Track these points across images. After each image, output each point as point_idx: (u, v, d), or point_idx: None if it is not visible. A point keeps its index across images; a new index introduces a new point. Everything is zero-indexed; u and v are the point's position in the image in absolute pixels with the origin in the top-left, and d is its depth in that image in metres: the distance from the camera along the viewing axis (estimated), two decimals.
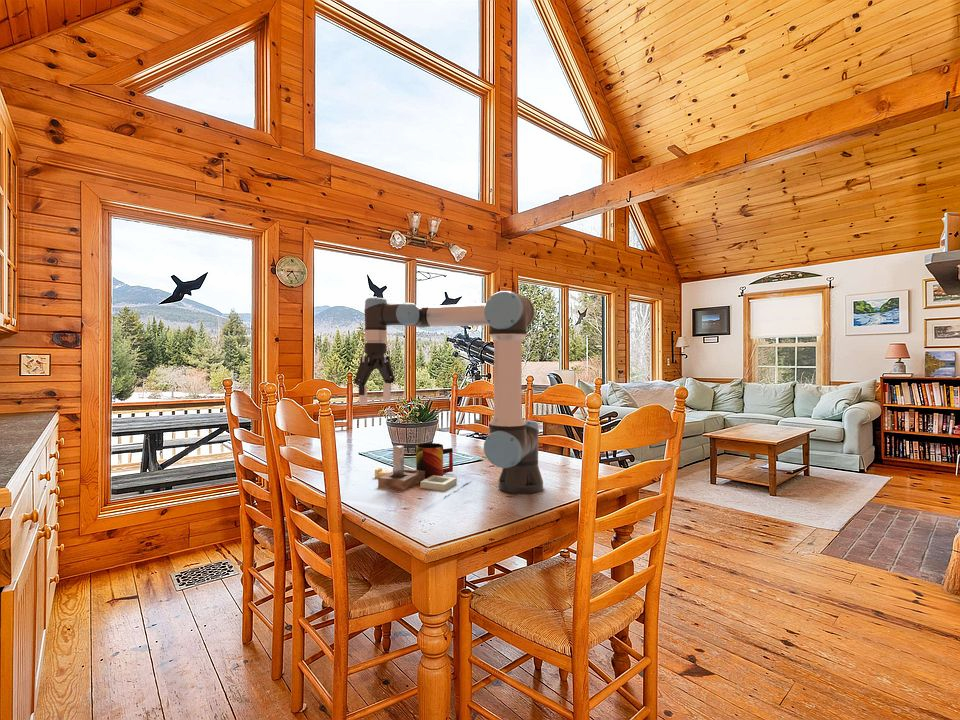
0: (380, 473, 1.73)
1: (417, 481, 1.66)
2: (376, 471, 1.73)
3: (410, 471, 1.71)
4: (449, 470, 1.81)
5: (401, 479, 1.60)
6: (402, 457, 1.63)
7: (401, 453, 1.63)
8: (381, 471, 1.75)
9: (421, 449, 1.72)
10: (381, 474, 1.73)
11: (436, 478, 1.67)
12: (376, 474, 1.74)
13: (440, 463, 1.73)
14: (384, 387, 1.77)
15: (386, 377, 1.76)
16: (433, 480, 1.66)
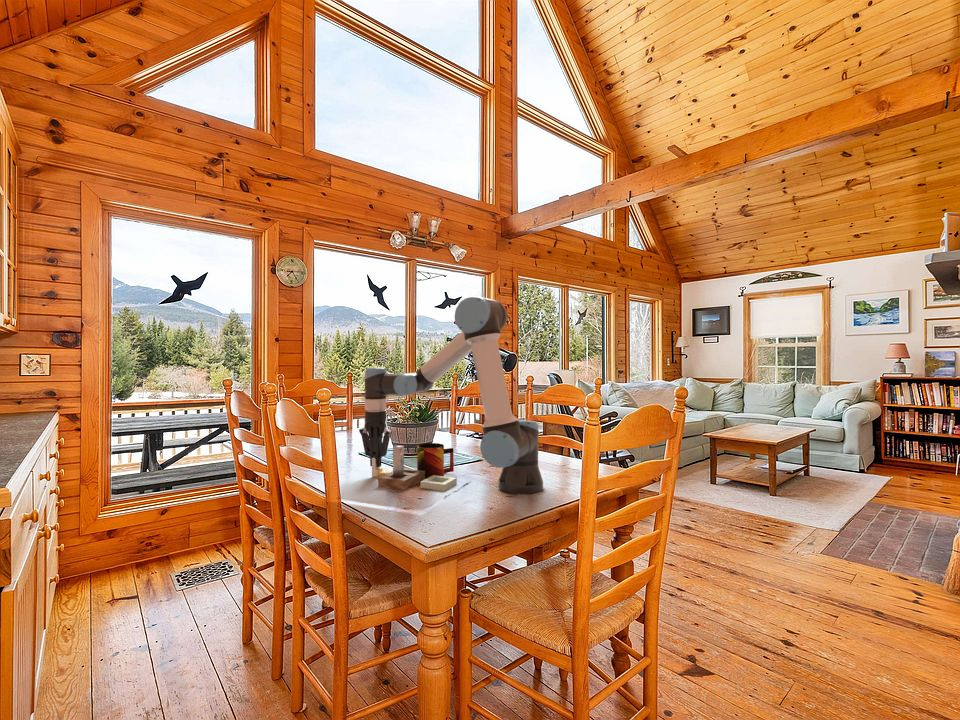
0: (380, 473, 1.73)
1: (417, 481, 1.66)
2: (376, 471, 1.73)
3: (410, 471, 1.71)
4: (450, 470, 1.81)
5: (401, 479, 1.60)
6: (402, 457, 1.63)
7: (401, 453, 1.63)
8: (381, 471, 1.74)
9: (422, 449, 1.72)
10: (381, 474, 1.73)
11: (436, 478, 1.67)
12: (376, 474, 1.73)
13: (441, 463, 1.74)
14: None
15: None
16: (433, 480, 1.66)
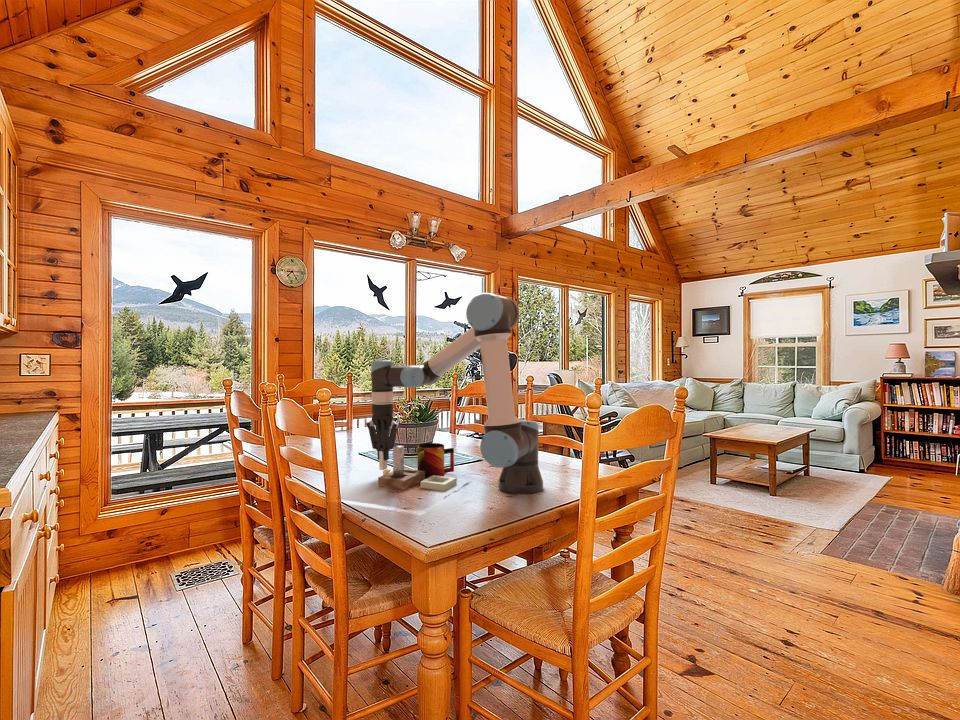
0: None
1: (417, 481, 1.66)
2: (384, 472, 1.72)
3: (410, 471, 1.71)
4: (450, 470, 1.81)
5: (401, 479, 1.60)
6: (402, 457, 1.63)
7: (401, 453, 1.63)
8: (389, 472, 1.73)
9: (422, 449, 1.72)
10: None
11: (436, 478, 1.67)
12: None
13: (441, 463, 1.74)
14: None
15: None
16: (433, 480, 1.66)
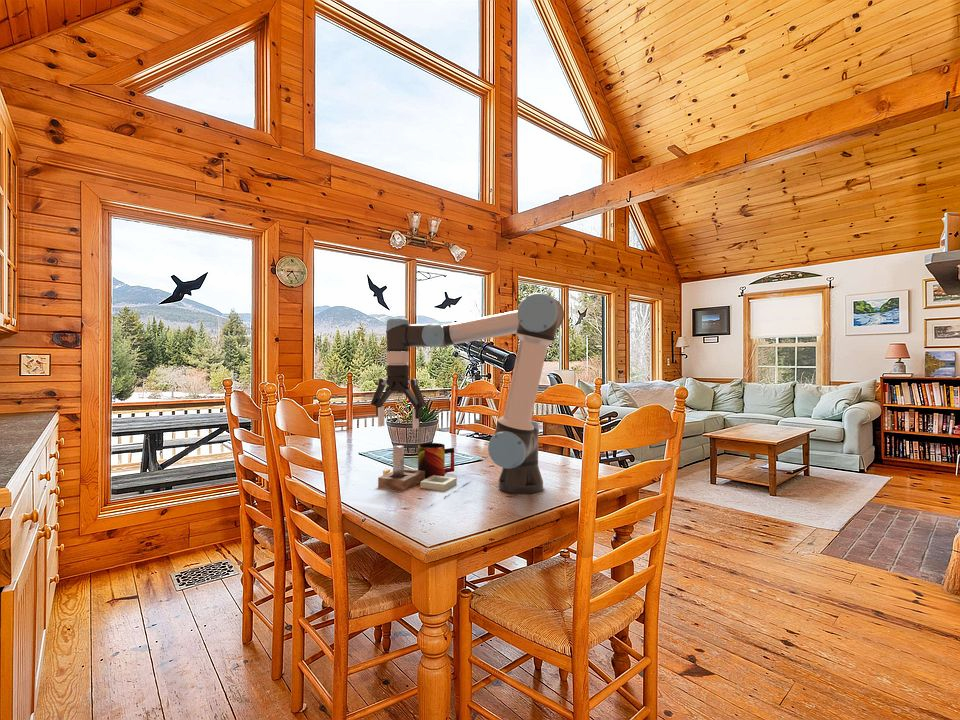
0: None
1: (417, 481, 1.66)
2: (384, 472, 1.72)
3: (410, 471, 1.71)
4: (450, 470, 1.81)
5: (401, 479, 1.60)
6: (402, 457, 1.63)
7: (401, 453, 1.63)
8: (389, 472, 1.73)
9: (423, 449, 1.72)
10: None
11: (436, 478, 1.67)
12: None
13: (442, 463, 1.74)
14: None
15: None
16: (433, 480, 1.66)
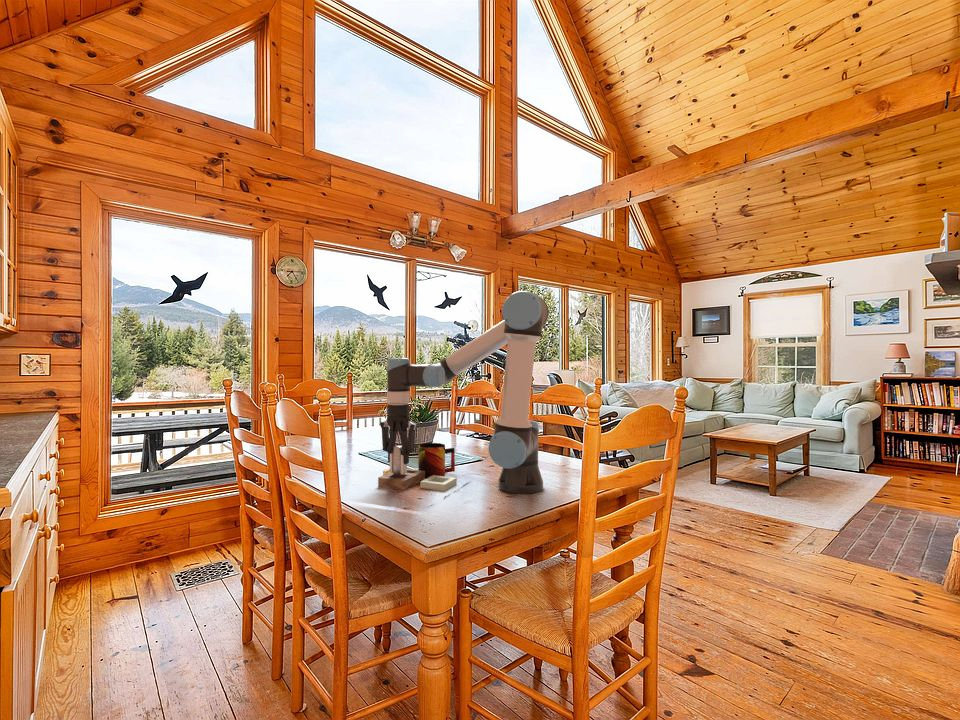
0: None
1: (417, 481, 1.66)
2: (384, 472, 1.72)
3: (410, 471, 1.71)
4: (451, 470, 1.81)
5: (401, 479, 1.60)
6: None
7: (401, 453, 1.63)
8: (389, 472, 1.73)
9: (423, 449, 1.72)
10: None
11: (436, 478, 1.67)
12: None
13: (442, 463, 1.74)
14: None
15: None
16: (433, 480, 1.66)
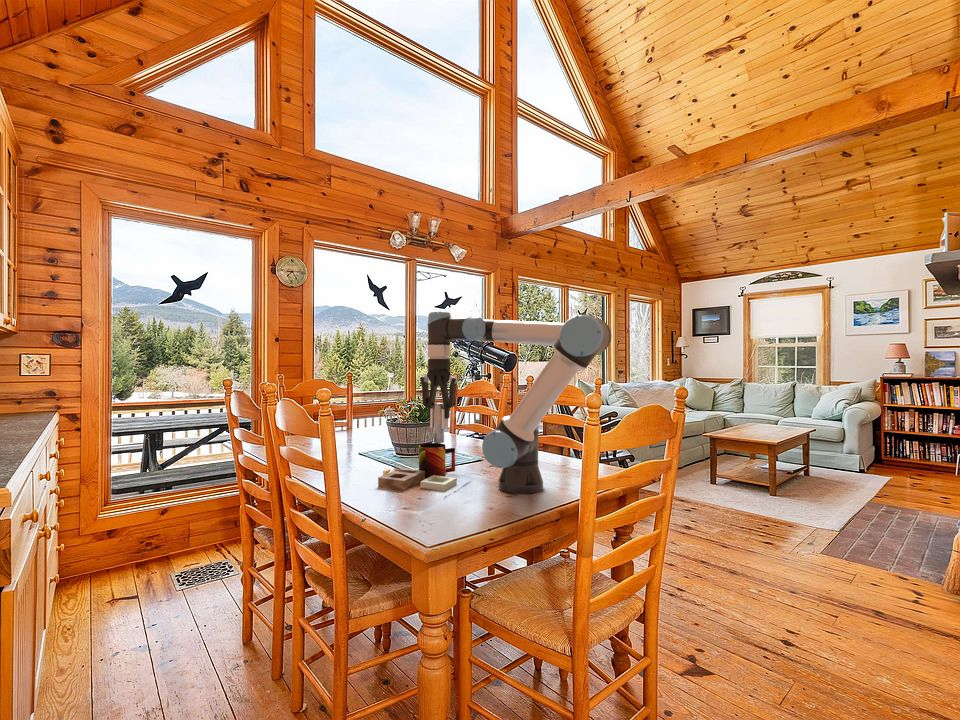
0: None
1: (417, 481, 1.66)
2: (384, 472, 1.72)
3: (410, 471, 1.71)
4: (451, 470, 1.81)
5: (401, 479, 1.60)
6: None
7: None
8: (389, 472, 1.73)
9: (424, 449, 1.72)
10: None
11: (436, 478, 1.67)
12: None
13: (442, 463, 1.74)
14: None
15: None
16: (433, 480, 1.66)
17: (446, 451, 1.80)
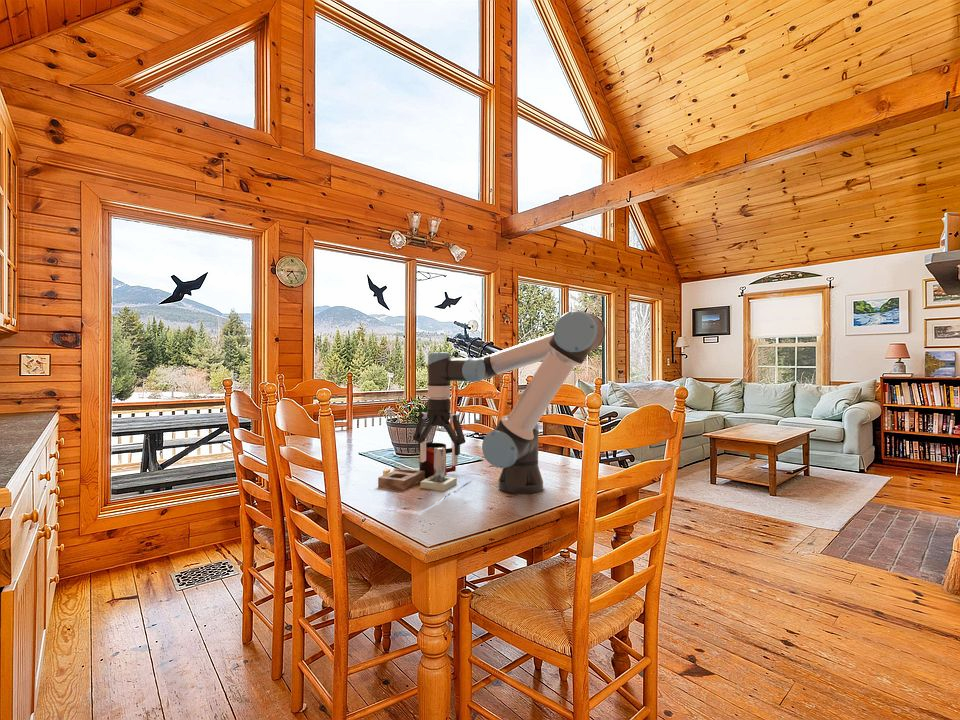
0: None
1: (417, 481, 1.66)
2: (384, 472, 1.72)
3: (410, 471, 1.71)
4: (452, 469, 1.82)
5: (401, 479, 1.60)
6: (443, 459, 1.62)
7: (442, 455, 1.62)
8: (389, 472, 1.73)
9: None
10: None
11: None
12: None
13: None
14: None
15: None
16: (433, 480, 1.66)
17: (447, 451, 1.80)
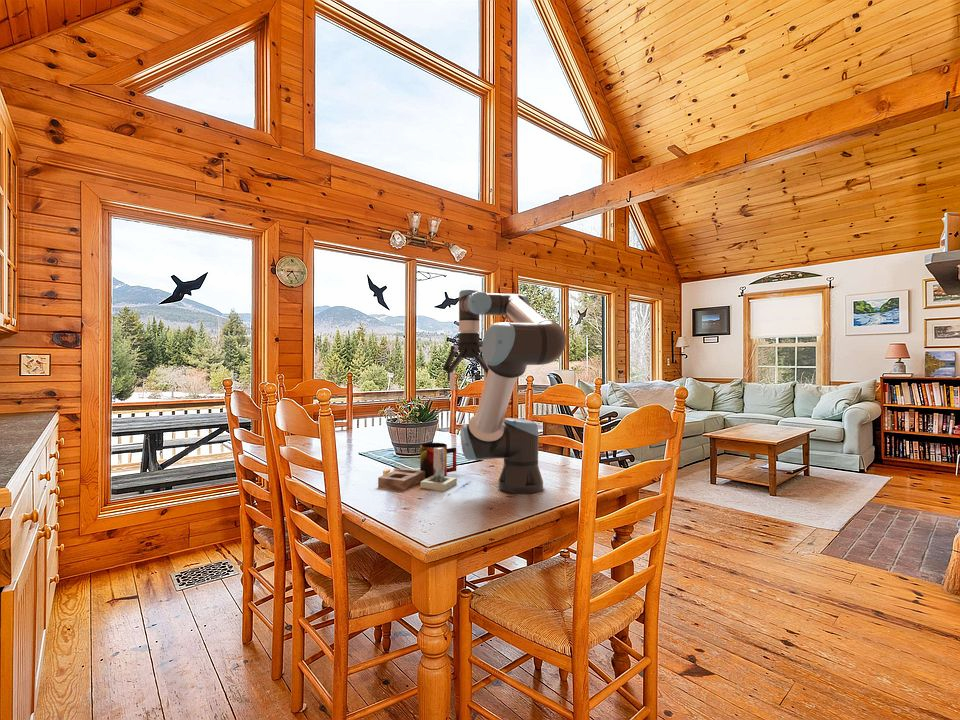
0: None
1: (417, 481, 1.66)
2: (384, 472, 1.72)
3: (410, 471, 1.71)
4: (453, 469, 1.82)
5: (401, 479, 1.60)
6: (443, 459, 1.62)
7: (442, 455, 1.62)
8: (389, 472, 1.73)
9: (425, 449, 1.73)
10: None
11: None
12: None
13: (444, 462, 1.74)
14: None
15: None
16: (433, 480, 1.66)
17: (447, 451, 1.80)
